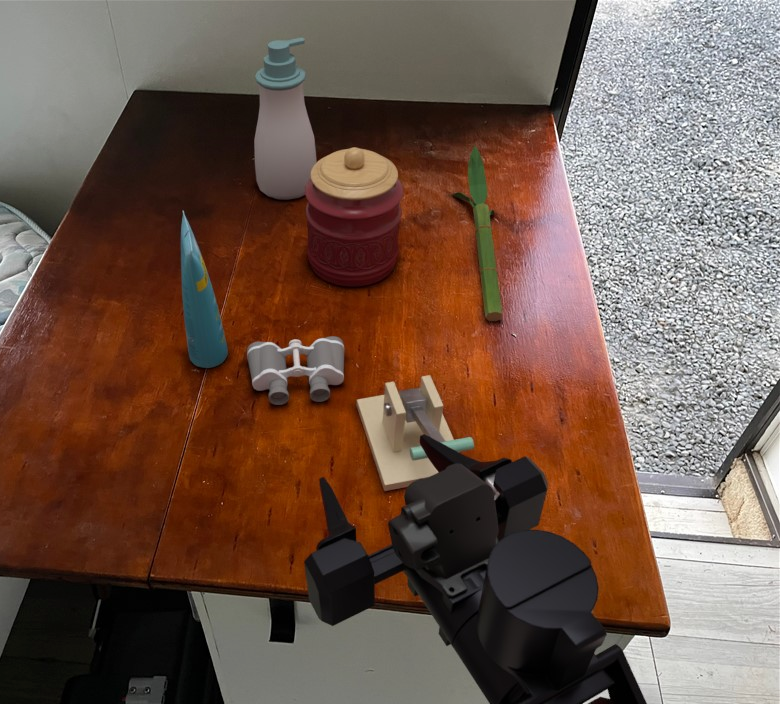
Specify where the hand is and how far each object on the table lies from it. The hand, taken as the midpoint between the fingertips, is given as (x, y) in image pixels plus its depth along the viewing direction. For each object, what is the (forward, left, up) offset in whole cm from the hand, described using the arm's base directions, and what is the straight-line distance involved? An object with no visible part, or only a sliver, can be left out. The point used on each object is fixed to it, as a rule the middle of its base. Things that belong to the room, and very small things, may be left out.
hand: (372, 458), depth 57 cm
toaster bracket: (+11, -12, -17) cm, 23 cm away
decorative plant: (+34, -39, -17) cm, 54 cm away
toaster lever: (+7, -10, -11) cm, 16 cm away
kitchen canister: (+42, -22, -17) cm, 50 cm away
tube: (+34, +3, -17) cm, 38 cm away
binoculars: (+25, -5, -17) cm, 30 cm away
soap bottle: (+64, -22, -17) cm, 69 cm away
